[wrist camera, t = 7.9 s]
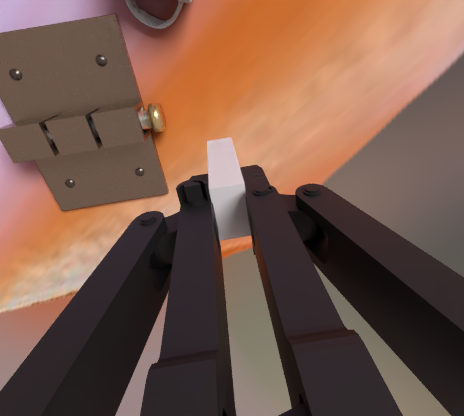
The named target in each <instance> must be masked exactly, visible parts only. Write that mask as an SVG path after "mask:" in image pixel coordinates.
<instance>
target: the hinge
mask: <svg viewBox="0 0 464 416" xmlns="http://www.w3.org/2000/svg"><path fill="white" fill-rule="evenodd" d="M0 98H1V100H2V102H3V104H4V105H5V107H6V109H7V111H8V113H9V115H10V116H11V118H12V120H13V122H14V123H12V124H9V125H7V126H4V127H2V128H0V140H1V142H2V144H3V145H4V147H5V149H6V150H7V152H8V154H9V155H10V157H11V159H12V160H13V162H14V163H18V162H24V161H30V160H35V162H36V164H37V166H38V168H39V170H40V171H41V173H42V175H43V177H44V179H45V181H46V182H47V184H48V186H49V188H50V190H51V191H52V193H53V195H54V197H55V199H56V201H57V202H58V204H59V206H60V208H61V210H62V211H64V210H70V209H76V208H82V207H88V206H94V205H100V204H106V203H112V202H118V201H124V200H130V199H136V198H142V197H148V196H154V195H160V194H166V193H168V192H169V190H168V187H167V183H166V180H165V177H164V173H163V170H162V166H161V163H160V160H159V156H158V153H157V149H156V146H155V143H154V139H153V136H152V132H151V129H144V130H143V129H142V125H141V122H140V119H139V116H138V113H137V111H143V110H145V109H144V105H143V102H142V99H141V95H140V92H139V88H138V85H137V82H136V78H135V75H134V71H133V68H132V65H131V61H130V58H129V55H128V51H127V48H126V44H125V41H124V38H123V34H122V31H121V27H120V24H119V21H118V17H117V15H116V14H112V15H106V16H100V17H93V18H87V19H81V20H75V21H69V22H63V23H57V24H51V25H45V26H39V27H33V28H27V29H21V30H15V31H9V32H3V33H0ZM100 108H101V109H100ZM98 109H99V110H98ZM58 115H59V116H58ZM89 119H93V121H94V124H95V126H96V129H97V131H98V134H99V137H96V136H95V134H94V131H93V129H92V126H91V124H90V121H89ZM44 127H47V128H48V130H49V132H50V134H51V136H52V139H53V141H54V143H55V144H53V145H52V143H51V141H50V139H49V137H48V135H47V133H46V131H45V129H44Z"/></svg>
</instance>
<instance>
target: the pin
mask: <svg viewBox="0 0 464 416" xmlns="http://www.w3.org/2000/svg"><path fill="white" fill-rule="evenodd" d="M137 113H138V116H139V119H140V122H141V125H142V129H143V130H144V129H150V128H153V130H154V131H155V132H162V131H166V121H165V116H164V112H163V109H162V106H161V104H160V103H153V104H149V105H148V110H143V111H137ZM89 121H90V124H91V126H92V129H93V131H94V134H95V136H96V137H99V134H98V131H97V129H96V126H95V124H94V121H93V119H89ZM44 129H45V131H46V133H47V135H48V137H49V139H50V141H51V143H52V145H53V144H55V143H54V141H53V139H52V136H51V134H50V132H49V130H48V128H47V127H44Z"/></svg>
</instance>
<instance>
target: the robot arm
mask: <svg viewBox="0 0 464 416" xmlns="http://www.w3.org/2000/svg"><path fill="white" fill-rule="evenodd" d="M207 151H208V174H203V175H197V176H192V177H191V178H190V179H189V180H187V181H185V182H182V183H181V184H179V185H178V186H177V188H176V190H177V194H178V198H179V201H180V205H181V207H180V211H179V212H178V213H176V214H174V215H171V216H168V217H165V218H164V215H163V213H161V212H159V211H151V212H146V213H143V214H141V215H140V216H138V217H136V218H135V219H134V220H133V221H132V223H131V224H130V225H129V226H128V228H127V229H126V230H125V232H124V233H123V234H122V235H121V237H120V238H119V239H118V241H117V242H116V243H115V244H114V246H113V247H112V248H111V250H110V251H109V252H108V253H107V255H106V256H105V257H104V259H103V260H102V261H101V262H100V264H99V265H98V266H97V268H96V269H95V270H94V271H93V273H92V274H91V275H90V277H89V278H88V279H87V280H86V282H85V283H84V284H83V286H82V287H81V288H80V289H79V291H78V292H77V293H76V295H75V296H74V297H73V299H72V300H71V301H70V302H69V304H68V305H67V306H66V308H65V309H64V310H63V311H62V313H61V314H60V315H59V317H58V318H57V319H56V320H55V322H54V323H53V324H52V326H51V327H50V328H49V329H48V331H47V332H46V333H45V335H44V336H43V337H42V338H41V340H40V341H39V342H38V344H37V345H36V346H35V347H34V349H33V350H32V351H31V353H30V354H29V355H28V356H27V358H26V359H25V360H24V362H23V363H22V364H21V365H20V367H19V368H18V369H17V371H16V372H15V373H14V375H13V376H12V377H11V378H10V380H9V381H8V382H7V384H6V385H5V386H4V387H3V389H2V390H1V391H0V416H115V414H116V412H117V410H118V407H119V405H120V403H121V400H122V398H123V396H124V394H125V391H126V389H127V386H128V384H129V382H130V380H131V377H132V375H133V372H134V370H135V368H136V366H137V363H138V361H139V359H140V356H141V354H142V352H143V349H144V347H145V345H146V342H147V340H148V338H149V335H150V333H151V331H152V328H153V326H154V324H155V321H156V319H157V317H158V314H159V312H160V310H161V307H162V305H163V302H164V300H165V298H166V295H167V293H168V291H169V294H168V302H167V308H166V316H165V324H164V331H163V337H162V345H161V352H160V357H159V360H158V362H157V363H154V364H152V365H151V367H150V369H149V371H148V375H147V379H146V384H145V390H144V396H143V402H142V408H141V414H140V416H236V410H235V401H234V390H233V379H232V367H231V357H230V345H229V334H228V322H227V311H226V300H225V289H224V278H223V266H222V255H221V246H220V241H219V240H226V239H232V238H238V237H244V236H250V235H251V236H252V244H253V251H254V255H256V259H257V263H258V268H259V272H260V276H261V280H262V284H263V288H264V292H265V297H266V301H267V304H268V309H269V313H270V317H271V321H272V325H273V329H274V334H275V338H276V342H277V346H278V350H279V354H280V359H281V362H282V367H283V371H284V375H285V379H286V383H287V387H288V392H289V396H290V401H291V407H292V409H290V410H288V411H287V412H285V413H283V414H281V415H279V416H403V415H402V413H401V412H400V410H399V408H398V406H397V404H396V402H395V400H394V399H393V396H392V395H391V393H390V391H389V389H388V387H387V385H386V383H385V382H384V380H383V378H382V376H381V374H380V372H379V370H378V369H377V367H376V365H375V363H374V361H373V359H372V357H371V355H370V353H369V352H368V350H367V348H366V346H365V344H364V342H363V341H362V339H361V338H360V336H359V334H358V333H356V332H355V331H354V330H348V329H347V328H346V327H345V326H344V324H343V322H342V320H341V318H340V316H339V314H338V312H337V310H336V308H335V306H334V304H333V302H332V300H331V298H330V296H329V294H328V292H327V290H326V288H325V286H324V284H323V282H322V280H321V278H320V276H319V274H318V272H317V270H316V268H315V266H314V264H315V265H316V266H317V267H318V268H319V269H320V271H321V272H322V273H323V274H324V275H325V276H326V277H327V278H328V280H329V281H330V282H331V283H332V284H333V285H334V286H335V287H336V288H337V289H338V291H340V293H341V294H342V295H343V296H344V297H345V298H346V299H347V301H348V302H349V303H350V304H351V305H352V306H353V307H354V308H355V309H356V311H358V313H359V314H360V315H361V316H362V317H363V318H364V319H365V320H366V322H367V323H368V324H369V325H370V326H371V327H372V328H373V329H374V330H375V331H376V333H377V334H378V335H379V336H380V337H381V338H382V339H383V340H384V341H385V343H386V344H387V345H388V346H389V347H390V348H391V349H392V350H393V351H394V353H395V354H396V355H397V356H398V357H399V358H400V359H401V360H402V361H403V363H404V364H405V365H406V366H407V367H408V368H409V369H410V370H411V371H412V373H413V374H414V375H415V376H416V377H417V378H418V379H419V380H420V381H421V382H422V384H423V385H424V386H425V387H426V388H427V389H428V390H429V391H430V392H431V393H432V395H433V396H434V397H435V398H436V399H437V400H438V401H439V402H440V403H441V404H442V406H443V407H444V408H445V409H446V410H447V411H448V412H449V413H450V415H452V416H464V277H462V276H461V275H459V274H458V273H456V272H455V271H453V270H452V269H450V268H449V267H447V266H445V265H444V264H443V263H441V262H439V261H438V260H436V259H435V258H433V257H432V256H430V255H429V254H427V253H426V252H424V251H423V250H421V249H420V248H418V247H416V246H415V245H413V244H412V243H410V242H409V241H407V240H406V239H404V238H403V237H401V236H400V235H398V234H397V233H395V232H394V231H392V230H390V229H389V228H387V227H386V226H384V225H383V224H381V223H380V222H378V221H377V220H375V219H374V218H372V217H371V216H369V215H368V214H366V213H365V212H363V211H361V210H360V209H359V208H357V207H356V206H354V205H352V204H351V203H349V202H348V201H346V200H345V199H343V198H342V197H340V196H339V195H337V194H336V193H334V192H333V191H331V190H330V189H328V188H326V187H324V186H322V185H318V184H307V185H302V186H300V187H298V188H297V189H296V192H295V195H283V194H279V193H278V192H277V190H276V188H275V187H273V186H271V185H270V184H269V182H268V180H267V178H266V176H265V173H264V171H263V169H262V168H261V167H259V166H258V165H252V166H246V167H240V166H239V163H238V159H237V156H236V153H235V149H234V146H233V142H232V139H231V137H229V138H223V139H217V140H211V141H207ZM313 263H314V264H313Z"/></svg>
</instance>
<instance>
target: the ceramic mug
mask: <svg viewBox="0 0 464 416" xmlns="http://www.w3.org/2000/svg"><path fill="white" fill-rule="evenodd" d="M125 1H126V4H127V6H128V8H129V9H130V11H131V12H132V14H133V15H134V16H135V17H136V18H137V19H138V20H139V21H140V22H142V23H143V24H145V25H147V26H149V27H151V28H155V29H164V28H167V27H168V26H170V25H171V24H172V23H173V22H174V21H175V20H176V18H177V16H178V15H179V13H180V11H181V8H182V6H183V3H187V4H190V3H191V1H192V0H178V6H177V9H176V11H175V12H174V14H173V16H172V17H171V18H170V19H168V20H166V21H165V20H160V19H157V18H155V17H153V16H151V15H149V14H148V13H146V12H145V11H144V10H143V9H139V8H138V7H137V5H136V3H135V1H134V0H125Z"/></svg>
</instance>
